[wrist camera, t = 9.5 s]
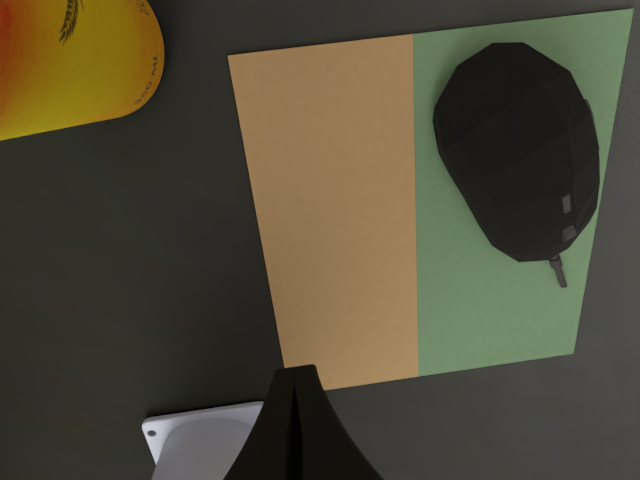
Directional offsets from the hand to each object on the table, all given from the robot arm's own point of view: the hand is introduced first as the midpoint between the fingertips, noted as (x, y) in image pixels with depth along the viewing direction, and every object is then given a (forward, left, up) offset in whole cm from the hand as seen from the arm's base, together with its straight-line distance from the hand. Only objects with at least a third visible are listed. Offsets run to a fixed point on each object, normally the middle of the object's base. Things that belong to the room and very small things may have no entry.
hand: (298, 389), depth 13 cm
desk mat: (+1, -8, -9) cm, 12 cm away
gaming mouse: (+3, -13, -10) cm, 16 cm away
